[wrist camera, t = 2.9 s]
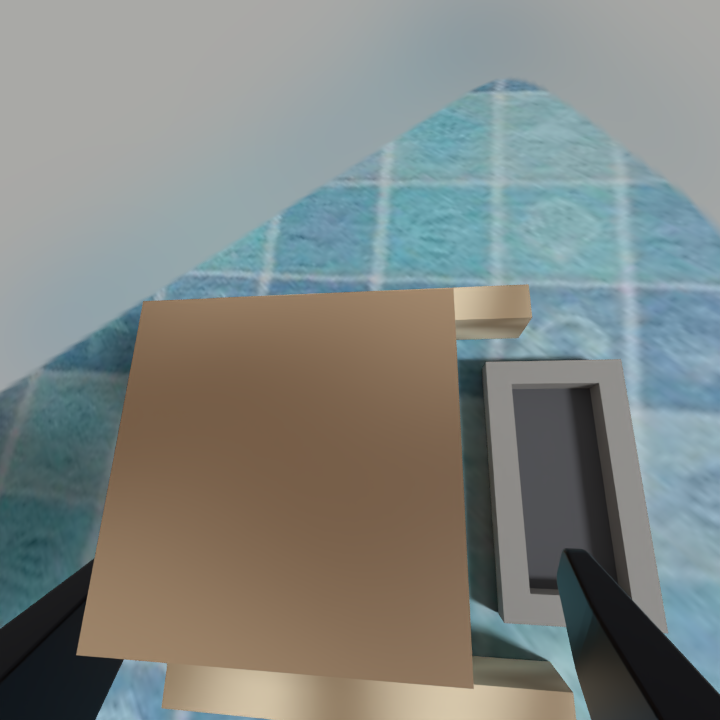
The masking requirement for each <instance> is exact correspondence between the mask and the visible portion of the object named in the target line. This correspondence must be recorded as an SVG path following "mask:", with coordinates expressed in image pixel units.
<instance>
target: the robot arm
mask: <svg viewBox="0 0 720 720" xmlns="http://www.w3.org/2000/svg"><path fill="white" fill-rule="evenodd" d="M94 559H95V558H94ZM94 559H93V560H92V561H90V562H89V563H88V564H86V565H85V566H84V567H82V568H81V569H80V570H78V571H77V572H76V573H74V574H73V575H72V576H70V577H69V578H68V579H66V580H65V581H64V582H62V583H61V584H60V585H58V586H57V587H56V588H54V589H53V590H52V591H50V592H49V593H48V594H46V595H45V596H44V597H42V598H41V599H40V600H38V601H37V602H36V603H34V604H33V605H32V606H30V607H29V608H28V609H26V610H25V611H24V612H22V613H21V614H20V615H18V616H17V617H16V618H14V619H13V620H12V621H10V622H9V623H8V624H6V625H5V626H4V627H2V628H1V629H0V720H95V719H96V717H97V715H98V713H99V711H100V709H101V706H102V704H103V702H104V700H105V698H106V696H107V694H108V692H109V690H110V687H111V685H112V683H113V681H114V679H115V677H116V675H117V673H118V671H119V668H120V666H121V664H122V662H123V660H124V659H115V658H103V657H92V656H80V655H76V654H77V648H78V643H79V638H80V633H81V627H82V622H83V617H84V611H85V606H86V601H87V596H88V590H89V585H90V580H91V575H92V569H93V564H94ZM557 585H558V590H559V595H560V600H561V604H562V609H563V614H564V618H565V623H566V628H567V632H568V637H569V642H570V646H571V651H572V656H573V660H574V664H575V668H576V672H577V675H578V679H579V682H580V686H581V689H582V692H583V695H584V698H585V701H586V704H587V707H588V711H589V714H590V717H591V720H720V694H719V693H718V692H717V691H716V690H715V689H714V688H713V686H712V685H711V684H710V683H709V682H708V681H707V680H706V679H705V678H704V677H703V676H702V675H701V673H700V672H699V671H698V670H697V669H696V668H695V667H694V666H693V665H692V664H691V663H690V662H689V661H688V659H687V658H686V657H685V656H684V655H683V654H682V653H681V652H680V651H679V650H678V649H677V648H676V646H675V645H674V644H673V643H672V642H671V641H670V640H669V639H668V638H667V637H666V636H665V635H664V634H663V632H662V631H661V630H660V629H659V628H658V627H657V626H656V625H655V624H654V623H653V622H652V621H651V619H650V618H649V617H648V616H647V615H646V614H645V613H644V612H643V611H642V610H641V609H640V608H639V607H638V605H637V604H636V603H635V602H634V601H633V600H632V599H631V598H630V597H629V596H628V595H627V594H626V593H625V591H624V590H623V589H622V588H621V587H620V586H619V585H618V584H617V583H616V582H615V581H614V580H613V578H612V577H611V576H610V575H609V574H608V573H607V572H606V571H605V570H604V569H603V568H602V567H601V566H600V564H599V563H598V562H597V561H596V560H595V559H594V558H593V557H592V556H591V555H590V554H589V553H588V552H587V551H586V550H584V549H576V548H565V549H563V550H562V553H561V557H560V561H559V566H558V570H557Z"/></svg>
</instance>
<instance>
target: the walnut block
mask: <svg viewBox="0 0 720 720" xmlns="http://www.w3.org/2000/svg"><path fill="white" fill-rule="evenodd" d="M76 655H80V656H92V657H103V658H115V659H127V660H138V661H150V662H162V663H174V664H185V665H197V666H209V667H221V668H232V669H244V670H256V671H267V672H279V673H291V674H303V675H314V676H326V677H338V678H350V679H361V680H373V681H385V682H396V683H408V684H420V685H432V686H443V687H455V688H467V689H474V683H473V663H472V644H471V624H470V604H469V584H468V565H467V545H466V525H465V505H464V485H463V466H462V446H461V426H460V406H459V386H458V367H457V347H456V327H455V307H454V288H443V289H420V290H396V291H373V292H350V293H327V294H303V295H280V296H257V297H233V298H210V299H187V300H164V301H143V306H142V311H141V316H140V322H139V327H138V332H137V337H136V343H135V348H134V353H133V358H132V364H131V369H130V374H129V380H128V385H127V390H126V395H125V401H124V406H123V411H122V416H121V422H120V427H119V432H118V438H117V443H116V448H115V453H114V459H113V464H112V469H111V474H110V480H109V485H108V490H107V496H106V501H105V506H104V511H103V517H102V522H101V527H100V532H99V538H98V543H97V548H96V553H95V559H94V564H93V569H92V575H91V580H90V585H89V590H88V596H87V601H86V606H85V611H84V617H83V622H82V627H81V633H80V638H79V643H78V648H77V654H76Z"/></svg>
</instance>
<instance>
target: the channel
mask: <svg viewBox="0 0 720 720" xmlns="http://www.w3.org/2000/svg"><path fill="white" fill-rule="evenodd" d="M436 289H443V288H436ZM413 290H420V289H413ZM390 291H396V290H390ZM367 292H373V291H367ZM344 293H350V292H344ZM320 294H327V293H320ZM297 295H303V294H297ZM274 296H280V295H274ZM251 297H257V296H251ZM228 298H233V297H228ZM454 307H455V327H456V340H465V339H503V338H519V336H520V335H521V333H522V332H523V330H524V329H525V327H526V326H527V324H528V323H529V321H530V320H531V318H532V312H531V303H530V294H529V285H506V286H483V287H459V288H454ZM472 663H473V683H474V689H467V688H455V687H443V686H432V685H420V684H408V683H396V682H385V681H373V680H361V679H350V678H338V677H326V676H314V675H303V674H291V673H279V672H267V671H256V670H244V669H232V668H221V667H209V666H197V665H185V664H174V663H167V671H166V678H165V686H164V693H163V701H162V708H165V709H175V710H185V711H195V712H205V713H215V714H225V715H234V716H244V717H254V718H264V719H274V720H576V715H575V706H574V696H573V692H572V691H571V689H570V688H569V687H568V685H567V684H566V683H565V681H564V680H563V679H562V677H561V676H560V675H559V673H558V672H557V671H556V669H555V668H554V667H553V665H552V664H551V663H550V662H547V661H534V660H521V659H507V658H494V657H480V656H472Z"/></svg>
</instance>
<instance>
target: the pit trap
mask: <svg viewBox="0 0 720 720" xmlns="http://www.w3.org/2000/svg"><path fill="white" fill-rule="evenodd" d="M482 379H483V394H484V409H485V423H486V438H487V452H488V467H489V482H490V496H491V511H492V526H493V540H494V555H495V570H496V584H497V599H498V613H499V615H500V617H501V618H502V620H503V621H504V623H513V624H529V625H545V626H560V627H566V623H565V618H564V614H563V609H562V604H561V600H560V595H559V590H558V585H557V570H558V566H559V561H560V557H561V553H562V550H563V549H565V548H576V549H584V550H586V551H587V552H588V553H589V554H590V555H591V556H592V557H593V558H594V559H595V560H596V561H597V562H598V563H599V564H600V566H601V567H602V568H603V569H604V570H605V571H606V572H607V573H608V574H609V575H610V576H611V577H612V578H613V580H614V581H615V582H616V583H617V584H618V585H619V586H620V587H621V588H622V589H623V590H624V591H625V593H626V594H627V595H628V596H629V597H630V598H631V599H632V600H633V601H634V602H635V603H636V604H637V605H638V607H639V608H640V609H641V610H642V611H643V612H644V613H645V614H646V615H647V616H648V617H649V618H650V619H651V621H652V622H653V623H654V624H655V625H656V626H657V627H658V628H659V629H660V630H661V631H662V632H663V633H668V630H667V624H666V618H665V612H664V606H663V601H662V595H661V589H660V583H659V577H658V572H657V566H656V560H655V554H654V548H653V542H652V537H651V531H650V525H649V519H648V513H647V507H646V502H645V496H644V490H643V484H642V478H641V473H640V467H639V461H638V455H637V449H636V443H635V438H634V432H633V426H632V420H631V414H630V408H629V403H628V397H627V391H626V385H625V379H624V374H623V368H622V362H621V359H612V360H560V361H507V362H485V364H484V366H483V368H482Z"/></svg>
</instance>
